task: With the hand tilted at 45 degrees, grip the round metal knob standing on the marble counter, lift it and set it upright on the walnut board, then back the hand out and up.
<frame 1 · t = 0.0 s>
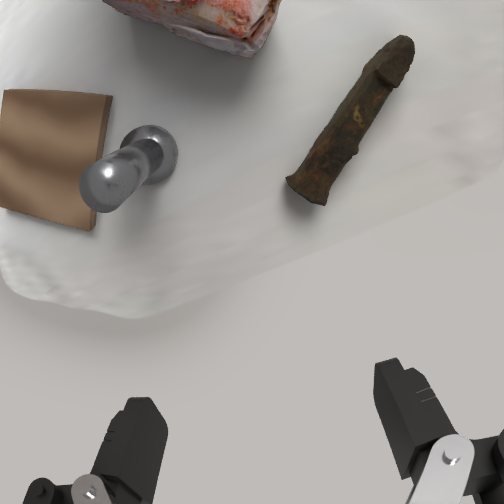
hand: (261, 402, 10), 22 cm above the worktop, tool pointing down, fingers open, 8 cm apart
hand tool: (345, 106, 25), on the worktop
walnut board: (47, 154, 26), on the worktop
round metal knob: (149, 153, 27), on the worktop
food item: (201, 8, 20), on the worktop
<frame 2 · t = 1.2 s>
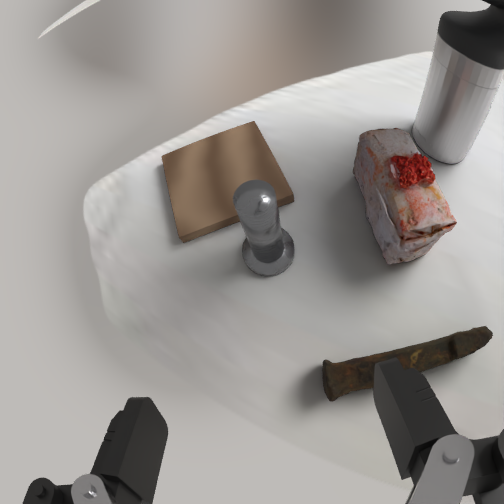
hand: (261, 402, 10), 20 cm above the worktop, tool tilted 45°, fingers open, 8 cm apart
hand tool: (408, 356, 27), on the worktop
walnut board: (222, 178, 39), on the worktop
round metal knob: (269, 252, 34), on the worktop
food item: (389, 215, 34), on the worktop
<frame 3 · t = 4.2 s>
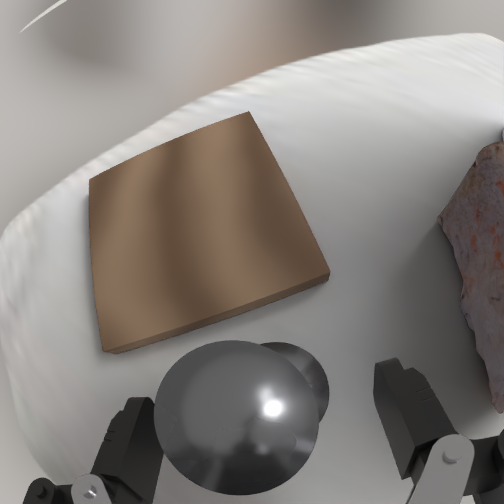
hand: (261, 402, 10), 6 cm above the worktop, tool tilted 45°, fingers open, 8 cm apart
walnut board: (187, 224, 20), on the worktop
round metal knob: (276, 393, 15), on the worktop
food item: (493, 300, 15), on the worktop
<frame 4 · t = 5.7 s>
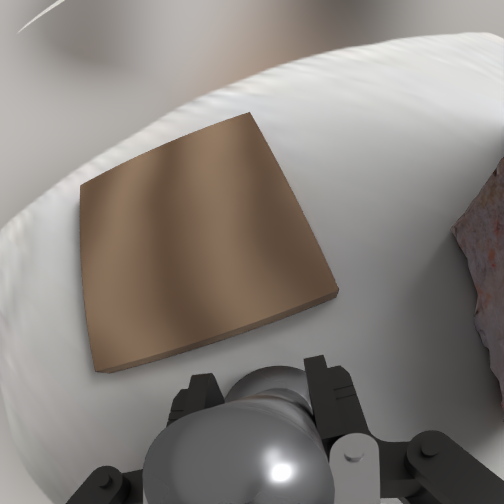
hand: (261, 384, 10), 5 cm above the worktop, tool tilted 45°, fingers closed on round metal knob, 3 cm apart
walnut board: (183, 234, 19), on the worktop
round metal knob: (279, 418, 14), on the worktop, touching gripper
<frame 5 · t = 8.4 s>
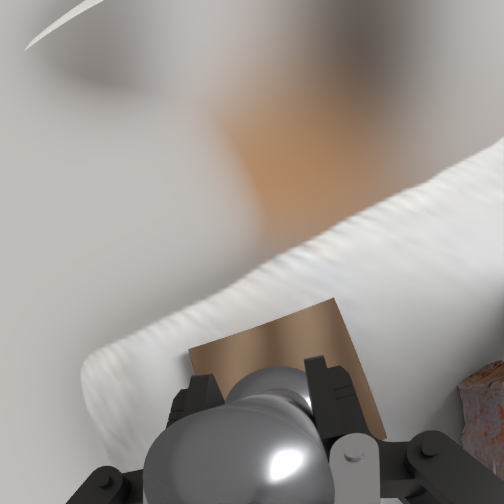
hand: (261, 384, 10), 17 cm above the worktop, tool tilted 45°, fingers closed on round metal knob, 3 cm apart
walnut board: (286, 398, 25), on the worktop
round metal knob: (279, 418, 14), point 12 cm above the worktop, touching gripper
food item: (482, 429, 20), on the worktop
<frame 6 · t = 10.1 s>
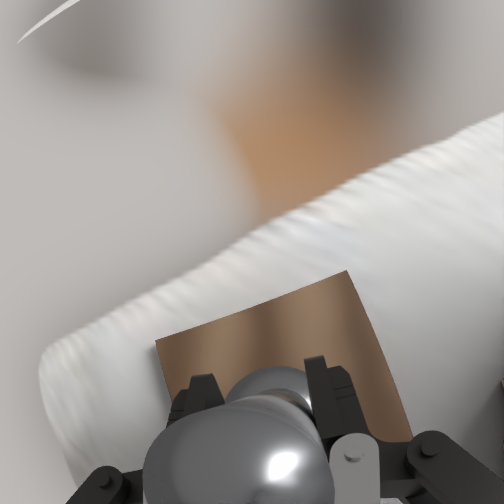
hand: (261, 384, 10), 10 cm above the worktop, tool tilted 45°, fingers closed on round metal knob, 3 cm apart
walnut board: (285, 406, 18), on the worktop
round metal knob: (279, 418, 14), point 5 cm above the worktop, touching gripper
when the fingers open (7 cm above the worktop, at t = 11.5 s): round metal knob stays where it is, resting on walnut board.
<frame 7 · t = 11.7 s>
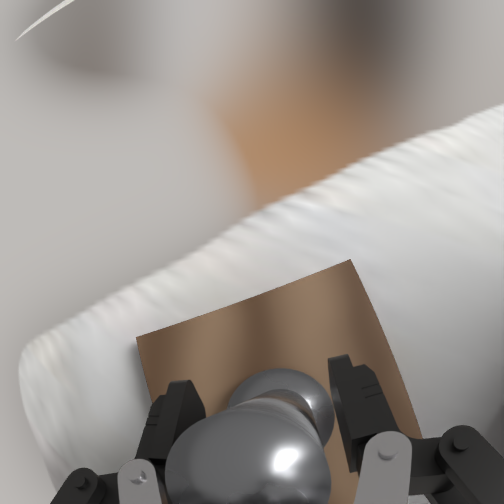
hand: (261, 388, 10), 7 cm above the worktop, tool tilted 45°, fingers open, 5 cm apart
walnut board: (281, 413, 16), on the worktop
round metal knob: (280, 417, 15), point 2 cm above the worktop, touching walnut board
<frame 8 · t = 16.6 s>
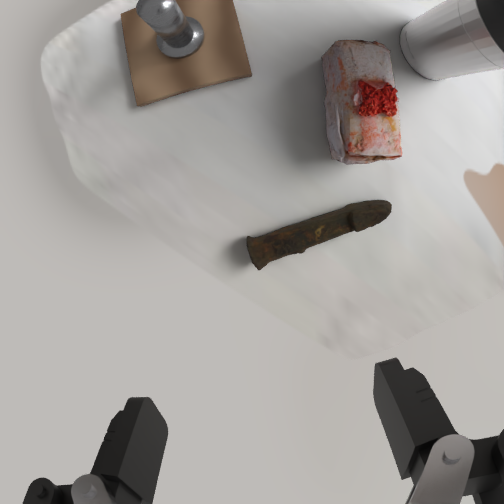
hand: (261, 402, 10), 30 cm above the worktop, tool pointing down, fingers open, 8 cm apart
hand tool: (317, 219, 39), on the worktop
walnut board: (183, 41, 30), on the worktop
round metal knob: (181, 38, 29), point 2 cm above the worktop, touching walnut board
food item: (347, 105, 33), on the worktop
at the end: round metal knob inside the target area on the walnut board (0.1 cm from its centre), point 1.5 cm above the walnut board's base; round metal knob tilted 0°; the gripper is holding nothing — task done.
